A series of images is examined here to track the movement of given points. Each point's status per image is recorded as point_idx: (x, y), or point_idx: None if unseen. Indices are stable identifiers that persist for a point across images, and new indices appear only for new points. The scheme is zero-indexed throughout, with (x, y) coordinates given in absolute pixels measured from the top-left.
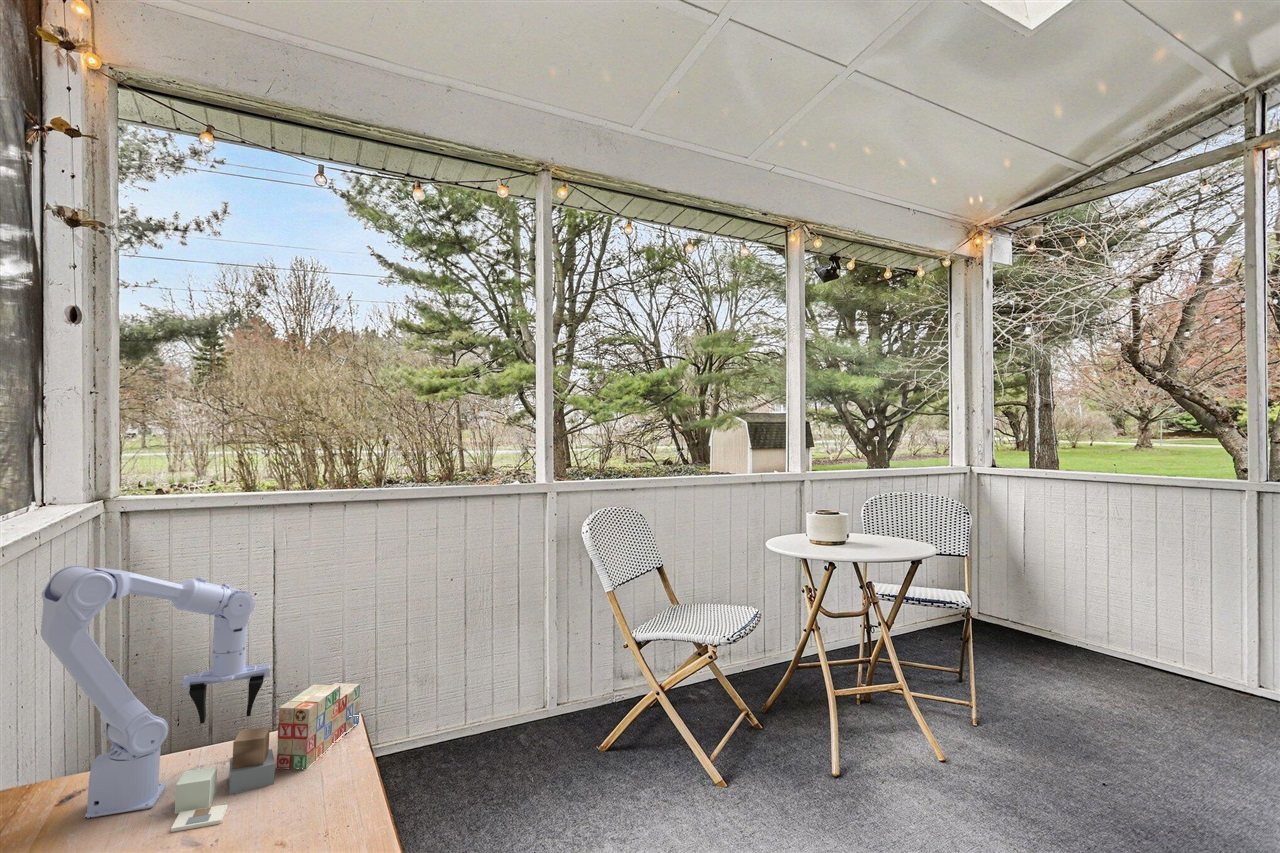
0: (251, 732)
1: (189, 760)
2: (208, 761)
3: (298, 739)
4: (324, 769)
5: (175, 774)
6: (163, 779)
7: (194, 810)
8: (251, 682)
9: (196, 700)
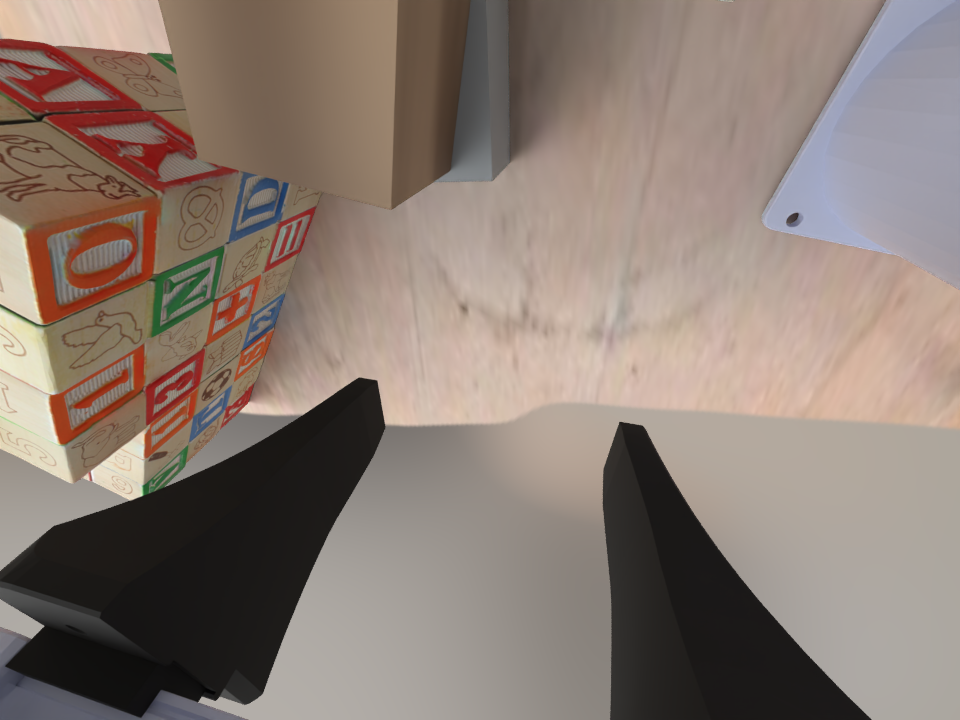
0: (294, 104)
1: (629, 395)
2: (574, 355)
3: (116, 87)
4: (127, 9)
5: (694, 315)
6: (745, 296)
7: None
8: (90, 622)
9: (757, 630)
